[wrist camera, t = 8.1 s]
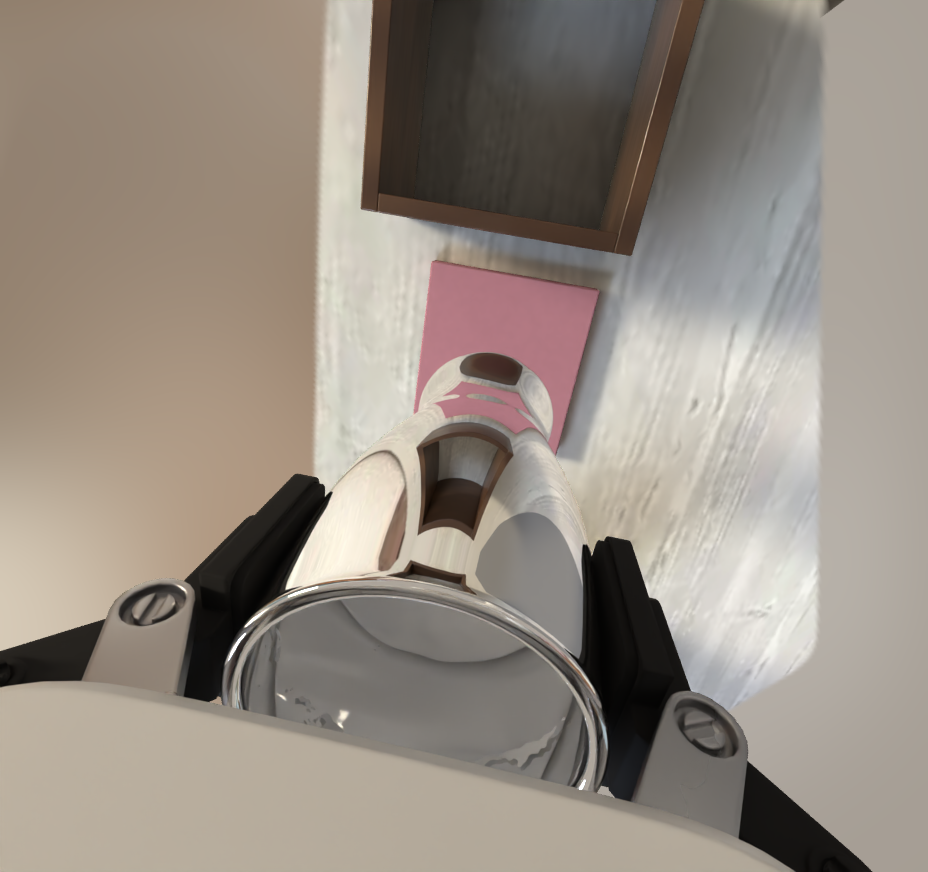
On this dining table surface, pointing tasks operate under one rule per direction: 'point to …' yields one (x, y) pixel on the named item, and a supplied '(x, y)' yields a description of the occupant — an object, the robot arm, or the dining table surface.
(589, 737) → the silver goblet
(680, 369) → the dining table surface
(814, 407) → the dining table surface
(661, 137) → the brown wooden box
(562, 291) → the mat
